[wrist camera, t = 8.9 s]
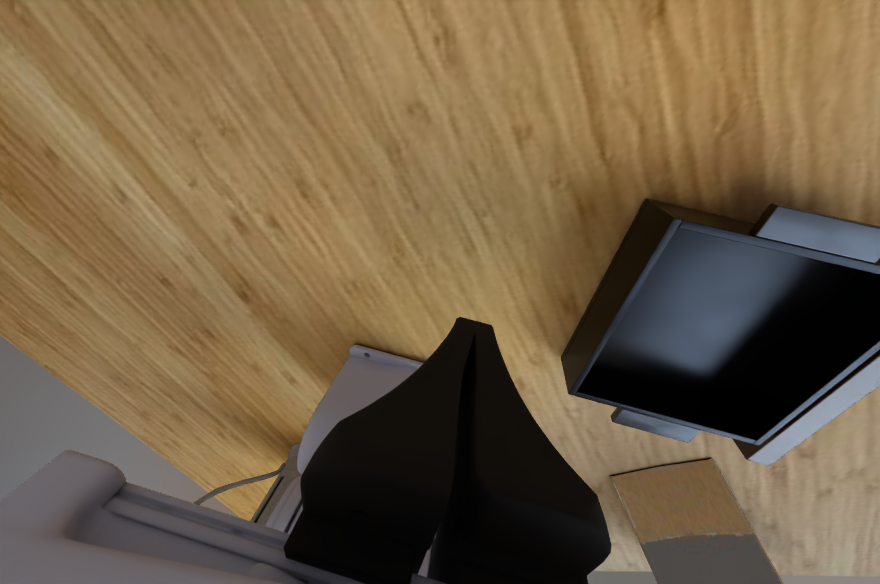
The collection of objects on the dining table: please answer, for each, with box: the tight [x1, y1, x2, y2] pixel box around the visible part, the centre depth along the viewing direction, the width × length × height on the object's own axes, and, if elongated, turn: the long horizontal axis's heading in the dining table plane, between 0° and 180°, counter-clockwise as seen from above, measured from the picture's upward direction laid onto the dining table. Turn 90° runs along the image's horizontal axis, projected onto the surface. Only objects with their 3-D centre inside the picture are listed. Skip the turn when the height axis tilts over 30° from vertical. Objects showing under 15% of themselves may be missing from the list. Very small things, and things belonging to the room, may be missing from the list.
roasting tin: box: [561, 199, 880, 445], centre depth 18 cm, size 12×15×4 cm
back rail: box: [732, 350, 880, 466], centre depth 18 cm, size 2×16×3 cm, turn 170°
